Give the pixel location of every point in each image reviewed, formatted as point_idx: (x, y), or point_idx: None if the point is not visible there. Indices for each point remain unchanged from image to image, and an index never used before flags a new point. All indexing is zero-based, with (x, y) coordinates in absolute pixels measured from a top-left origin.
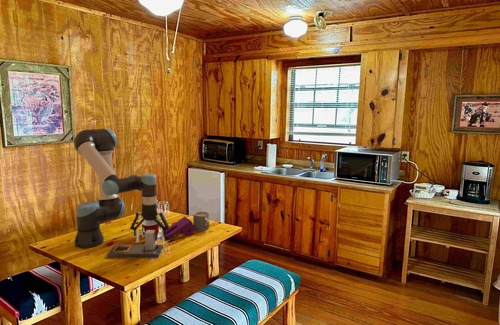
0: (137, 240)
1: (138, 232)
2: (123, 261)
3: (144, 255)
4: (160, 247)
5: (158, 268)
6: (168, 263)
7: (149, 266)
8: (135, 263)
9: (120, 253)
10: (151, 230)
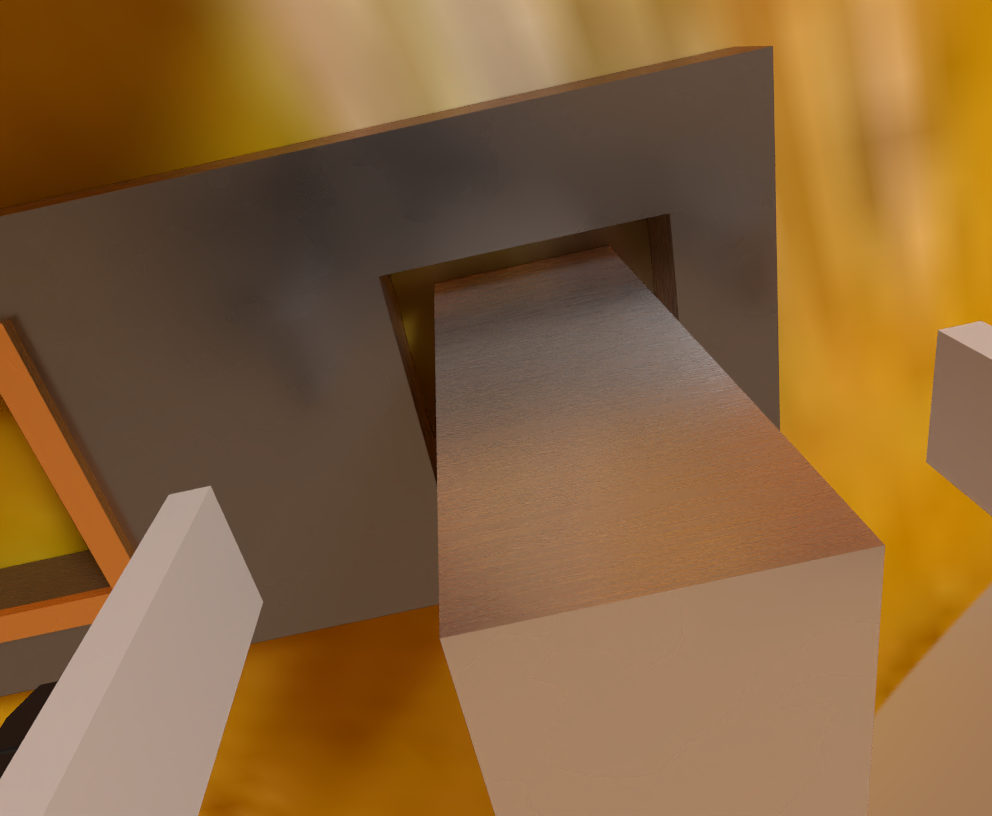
0: (246, 635)
1: (109, 714)
2: (261, 711)
3: None
4: (748, 240)
5: None
6: (945, 619)
7: None
8: None
9: None
10: (706, 631)
